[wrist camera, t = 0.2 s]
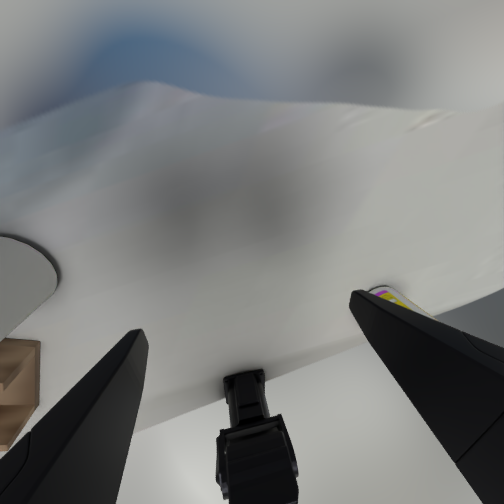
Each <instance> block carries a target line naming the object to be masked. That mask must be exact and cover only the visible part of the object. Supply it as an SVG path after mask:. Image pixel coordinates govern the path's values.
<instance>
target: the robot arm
mask: <svg viewBox="0 0 504 504" xmlns="http://www.w3.org/2000/svg"><path fill="white" fill-rule="evenodd" d="M349 308H350V310H351V312H352V314H353V316H354V317H355V319H356V321H357V323H358V324H359V326H360V328H361V330H362V331H363V333H364V335H365V337H366V338H367V340H368V341H369V343H370V344H371V346H372V347H373V349H374V350H375V351H376V353H377V354H378V356H379V357H380V358H381V360H382V361H383V363H384V364H385V365H386V367H387V368H388V370H389V371H390V373H391V374H392V375H393V377H394V378H395V380H396V381H397V382H398V384H399V385H400V386H401V388H402V390H403V391H404V392H405V394H406V395H407V397H408V398H409V399H410V401H411V402H412V404H413V405H414V407H415V408H416V409H417V411H418V412H419V414H420V415H421V416H422V418H423V419H424V421H425V422H426V424H427V425H428V426H429V428H430V429H431V431H432V432H433V433H434V435H435V436H436V438H437V439H438V440H439V442H440V443H441V445H442V446H443V448H444V449H445V450H446V452H447V453H448V455H449V456H450V457H451V459H452V460H453V462H454V463H455V465H456V466H457V468H458V469H459V470H460V472H461V473H462V474H463V476H464V477H465V479H466V480H467V482H468V483H469V485H470V486H471V487H472V489H473V490H474V492H475V493H476V494H477V496H478V497H479V499H480V500H481V501H482V503H483V504H504V348H503V347H500V346H498V345H495V344H492V343H490V342H487V341H485V340H483V339H480V338H478V337H475V336H473V335H470V334H468V333H466V332H463V331H460V330H458V329H456V328H453V327H451V326H448V325H446V324H444V323H441V322H439V321H437V320H434V319H432V318H429V317H427V316H425V315H422V314H420V313H417V312H415V311H413V310H410V309H408V308H405V307H403V306H401V305H398V304H396V303H393V302H391V301H388V300H386V299H384V298H381V297H379V296H376V295H374V294H372V293H369V292H367V291H364V290H355V291H353V292H352V293H351V298H350V302H349ZM148 349H149V345H148V341H147V339H146V336H145V334H144V331H143V330H142V329H135V330H130V331H129V332H128V333H127V334H126V335H125V336H124V337H123V338H122V339H121V340H120V341H119V342H118V343H117V344H116V345H115V346H114V347H113V348H112V349H111V350H110V351H109V352H108V353H107V354H106V355H105V356H104V357H103V358H102V359H101V360H100V361H99V362H98V363H97V364H96V365H95V366H94V367H93V368H92V369H91V370H90V371H89V372H88V373H87V374H86V375H85V376H84V377H83V378H82V379H81V380H80V381H79V382H78V383H77V384H76V385H75V386H74V387H73V388H72V389H71V390H70V391H69V392H68V393H67V394H66V395H65V396H64V397H63V398H62V399H61V400H60V401H59V402H58V403H57V404H56V405H55V406H54V407H53V408H52V409H51V410H50V411H49V412H48V413H47V414H46V415H45V416H44V417H43V418H42V419H41V420H40V421H39V422H38V423H37V424H36V425H35V426H34V427H33V428H32V429H31V431H29V432H27V433H26V434H25V435H24V436H23V437H22V438H21V439H20V440H19V441H18V442H17V443H16V444H15V445H14V446H13V447H12V448H11V449H10V450H9V451H8V452H7V453H6V454H5V455H4V456H3V457H2V458H1V459H0V504H116V500H117V496H118V492H119V488H120V484H121V480H122V476H123V471H124V467H125V463H126V459H127V455H128V451H129V446H130V442H131V438H132V434H133V430H134V426H135V422H136V418H137V413H138V409H139V405H140V401H141V397H142V392H143V387H144V380H145V372H146V365H147V357H148ZM223 382H224V389H225V397H226V403H227V404H229V415H230V426H231V428H228V429H221V430H220V436H218V437H217V438H216V442H217V460H216V482H217V483H218V484H219V486H220V487H221V491H222V494H223V499H224V500H226V499H229V504H298V493H299V489H298V485H297V481H296V477H298V467H297V461H296V457H295V454H294V449H293V446H292V443H291V440H290V437H289V435H288V432H287V429H286V426H285V423H284V421H283V418H282V415H281V414H278V415H277V416H273V417H270V414H269V410H268V406H267V402H266V398H265V373H264V370H258V371H253V372H248V373H243V374H239V375H234V376H229V377H225V378H224V379H223Z"/></svg>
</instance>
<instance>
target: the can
mask: <svg viewBox="0 0 504 504" xmlns="http://www.w3.org/2000/svg"><path fill="white" fill-rule="evenodd" d="M56 287H57V274H56V272H55V270H54V268H53V266H52V264H51V263H50V262H49V261H48V260H47V259H46V258H45V257H44V256H43V255H42V254H41V253H40V252H38V251H37V250H35V249H34V248H32V247H31V246H29V245H27V244H25V243H22V242H19V241H17V240H14V239H11V238H6V237H0V342H1V341H2V340H3V339H4V338H5V337H6V336H7V335H8V334H9V333H10V332H12V331H13V330H14V329H15V328H16V327H17V326H18V325H19V324H20V323H22V322H23V321H24V320H25V319H26V318H27V317H28V316H29V315H30V314H31V313H33V312H34V311H35V310H36V309H37V308H38V307H39V306H40V305H41V304H42V303H44V302H45V301H46V300H47V299H48V298H49V297H50V296H51V295H52V294H53V293H54V291H55V289H56Z"/></svg>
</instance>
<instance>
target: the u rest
mask: <svg viewBox="0 0 504 504" xmlns="http://www.w3.org/2000/svg"><path fill="white" fill-rule="evenodd" d="M39 377H40V341H31V340H20V339H9V338H4V339H3V340H2V341H1V342H0V451H8V450H9V448H10V447H11V445H12V444H13V442H14V441H15V439H16V438H17V436H18V435H19V433H20V432H21V431H22V429H23V428H24V426H25V425H26V423H27V422H28V420H29V419H30V417H31V416H32V414H33V413H34V411H35V410H36V408H37V407H38V405H39Z"/></svg>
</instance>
